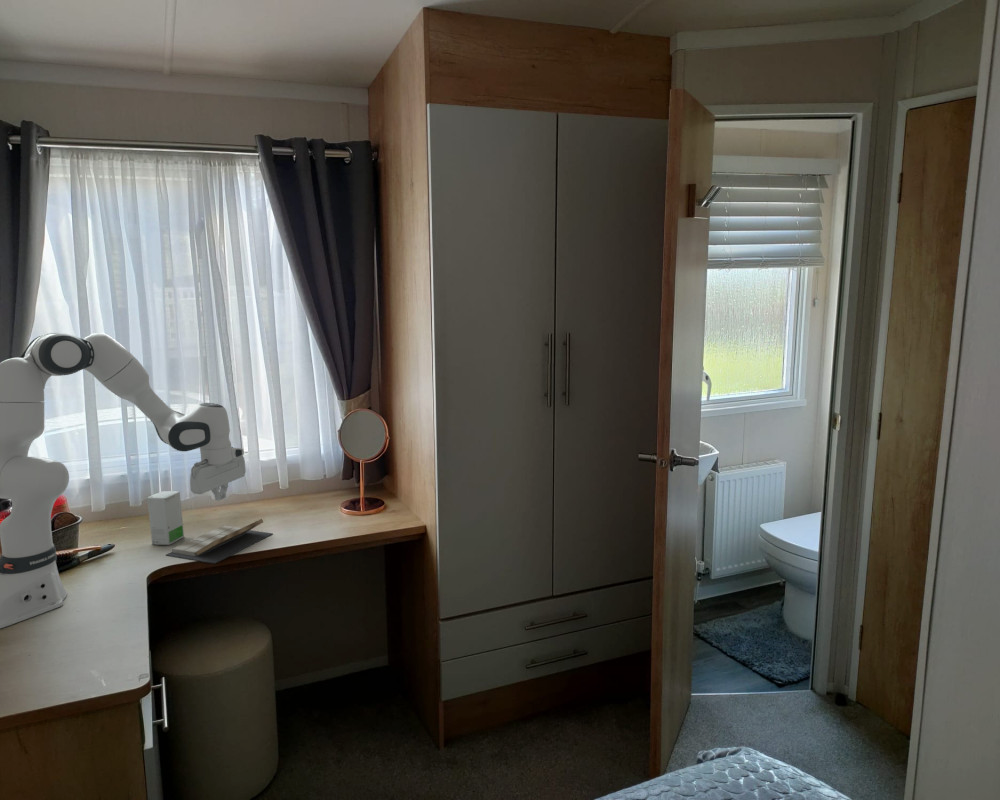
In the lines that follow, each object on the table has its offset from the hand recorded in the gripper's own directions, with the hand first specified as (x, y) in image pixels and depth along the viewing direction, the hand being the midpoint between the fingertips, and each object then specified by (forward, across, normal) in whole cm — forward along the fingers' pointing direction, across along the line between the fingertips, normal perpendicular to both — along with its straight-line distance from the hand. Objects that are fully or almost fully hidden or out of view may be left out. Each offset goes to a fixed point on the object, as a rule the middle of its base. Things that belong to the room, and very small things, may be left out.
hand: (220, 499), depth 220 cm
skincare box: (+16, 0, +23) cm, 28 cm away
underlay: (+16, +2, +4) cm, 17 cm away
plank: (+14, +2, 0) cm, 14 cm away
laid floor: (+16, +3, +8) cm, 18 cm away
